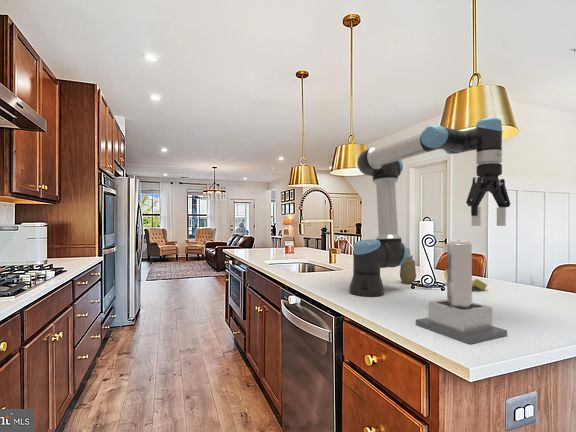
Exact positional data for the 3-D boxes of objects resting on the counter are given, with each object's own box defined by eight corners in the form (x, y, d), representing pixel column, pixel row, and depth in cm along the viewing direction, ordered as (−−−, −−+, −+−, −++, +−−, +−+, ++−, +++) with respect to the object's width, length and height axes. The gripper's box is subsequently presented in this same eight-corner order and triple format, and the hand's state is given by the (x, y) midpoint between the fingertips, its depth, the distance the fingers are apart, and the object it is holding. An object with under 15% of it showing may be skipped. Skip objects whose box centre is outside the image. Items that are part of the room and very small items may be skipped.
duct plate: (415, 324, 103) (415, 300, 103) (451, 318, 110) (451, 295, 110) (469, 344, 86) (469, 315, 86) (507, 335, 93) (507, 309, 93)
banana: (489, 286, 154) (474, 277, 151) (482, 300, 154) (467, 292, 151) (457, 275, 173) (443, 268, 171) (451, 288, 173) (437, 280, 170)
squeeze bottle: (416, 282, 173) (416, 248, 173) (415, 285, 166) (415, 249, 166) (400, 281, 176) (400, 247, 177) (398, 283, 169) (399, 248, 169)
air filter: (475, 328, 94) (475, 241, 95) (450, 327, 95) (450, 240, 96) (467, 322, 101) (467, 239, 101) (444, 320, 102) (444, 239, 102)
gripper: (475, 159, 105) (475, 225, 105) (522, 165, 116) (522, 226, 116) (454, 162, 112) (454, 225, 112) (500, 168, 123) (500, 225, 123)
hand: (488, 225), depth 114 cm, fingers open, 13 cm apart
